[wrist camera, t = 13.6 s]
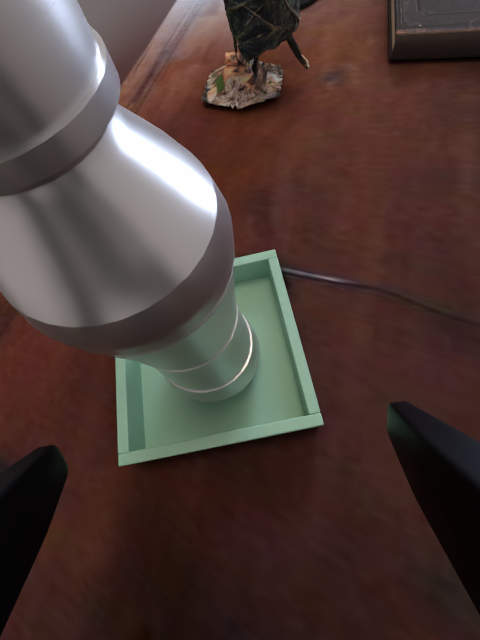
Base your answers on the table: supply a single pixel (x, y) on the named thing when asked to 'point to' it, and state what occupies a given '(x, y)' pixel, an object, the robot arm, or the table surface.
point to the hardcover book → (433, 29)
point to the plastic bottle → (110, 214)
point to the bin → (237, 411)
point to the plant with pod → (254, 52)
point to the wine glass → (305, 3)
